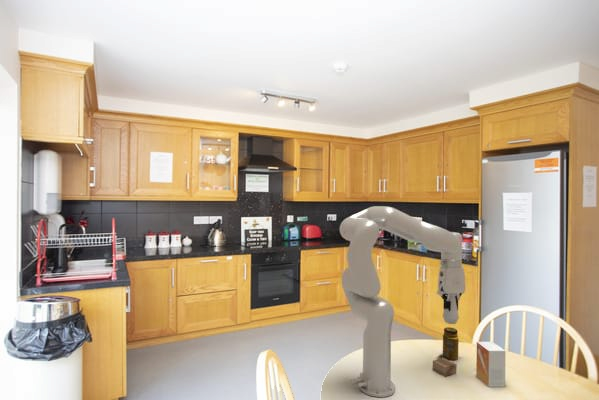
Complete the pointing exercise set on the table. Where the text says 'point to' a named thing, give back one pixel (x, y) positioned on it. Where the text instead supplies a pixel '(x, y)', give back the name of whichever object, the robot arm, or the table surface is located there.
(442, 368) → the walnut block
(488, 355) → the small box
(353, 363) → the table surface
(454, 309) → the salt shaker
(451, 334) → the condiment
